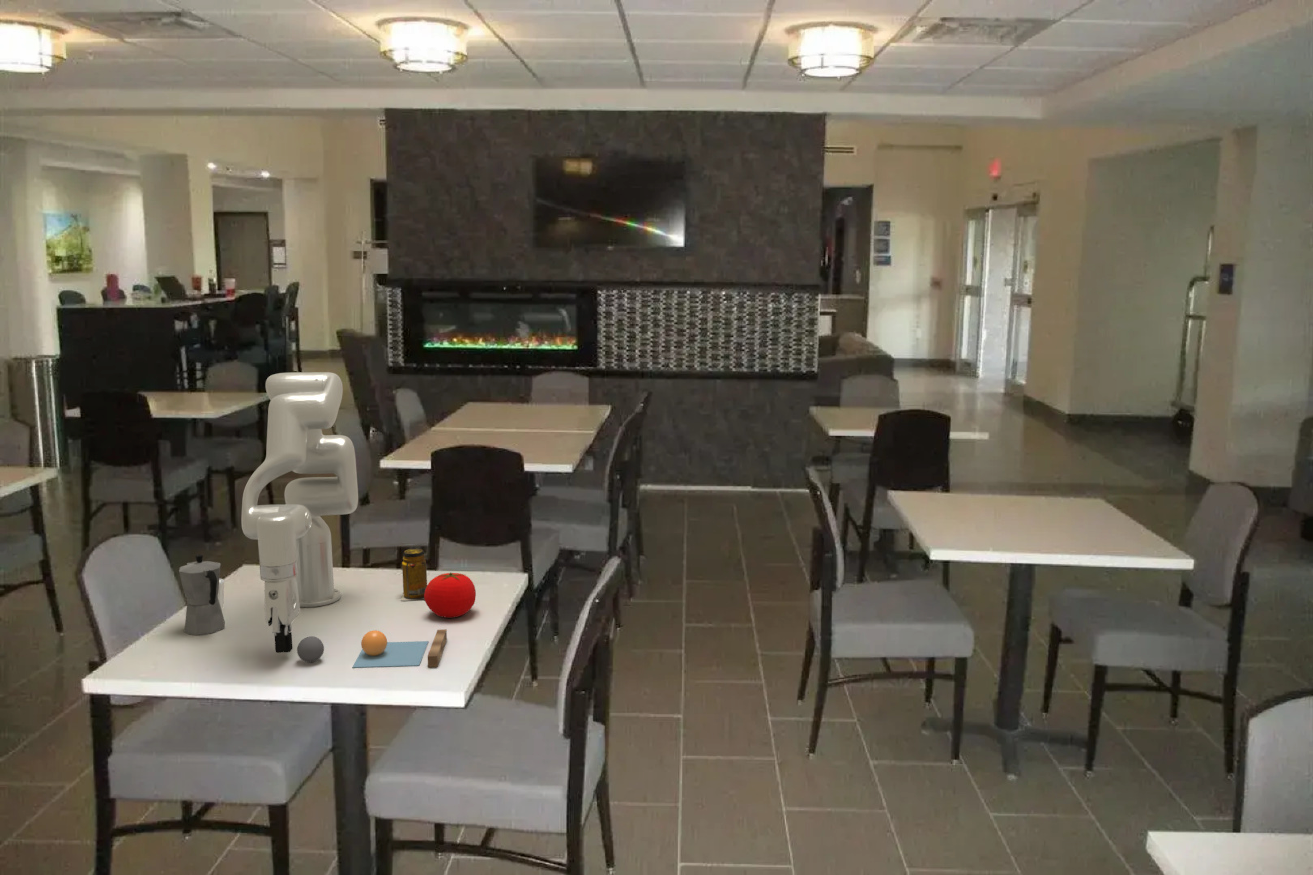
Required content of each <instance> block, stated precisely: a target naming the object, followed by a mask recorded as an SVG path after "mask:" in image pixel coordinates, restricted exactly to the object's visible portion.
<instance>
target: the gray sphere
mask: <svg viewBox="0 0 1313 875" xmlns="http://www.w3.org/2000/svg"><path fill="white" fill-rule="evenodd" d="M323 643H324V642H322V640H321V639H320V638H319V637H316V636H306V637H304V638H302V639H301V640H300V641H299V643H298V645H297V648H296V651H297V652H296V653H297V656H298V657H299V659H300V660H301V661H303V662H305V663H313V662H316V661H318V660H320V658H321V657H322V656H323V654H324V651H325V646H324V644H323Z"/></svg>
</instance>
